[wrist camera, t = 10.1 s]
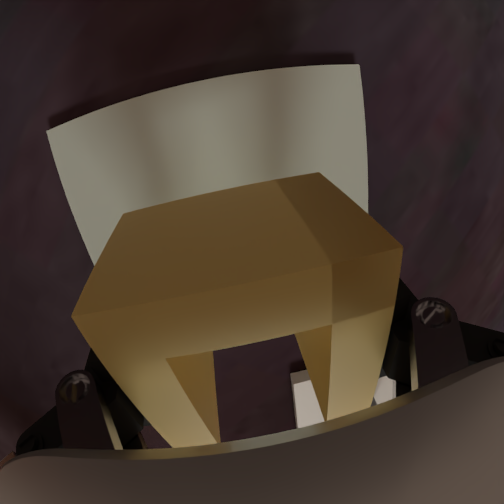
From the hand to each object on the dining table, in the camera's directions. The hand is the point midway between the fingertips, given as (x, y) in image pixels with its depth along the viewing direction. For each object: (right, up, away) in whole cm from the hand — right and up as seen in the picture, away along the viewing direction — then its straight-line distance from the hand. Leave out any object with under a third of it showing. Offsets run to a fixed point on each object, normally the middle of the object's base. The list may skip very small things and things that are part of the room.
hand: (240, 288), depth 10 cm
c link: (0, 0, +1) cm, 1 cm away
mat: (-1, +2, +4) cm, 5 cm away
